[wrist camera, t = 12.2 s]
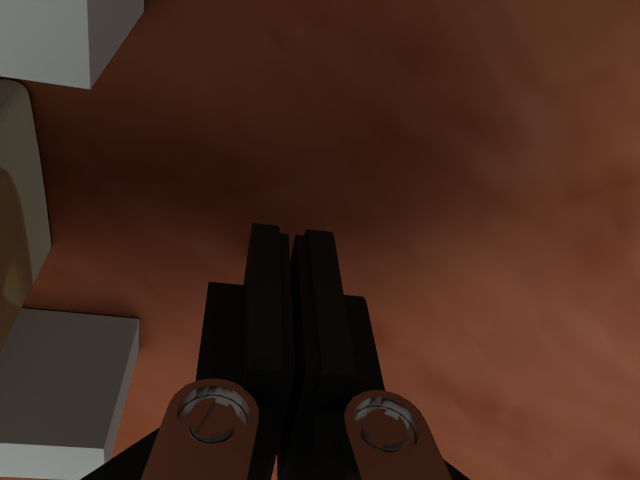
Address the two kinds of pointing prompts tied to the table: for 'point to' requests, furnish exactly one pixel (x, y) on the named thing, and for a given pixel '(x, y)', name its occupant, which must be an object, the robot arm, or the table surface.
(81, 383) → the bay
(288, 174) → the table surface
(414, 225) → the table surface
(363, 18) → the table surface
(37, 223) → the skincare box
